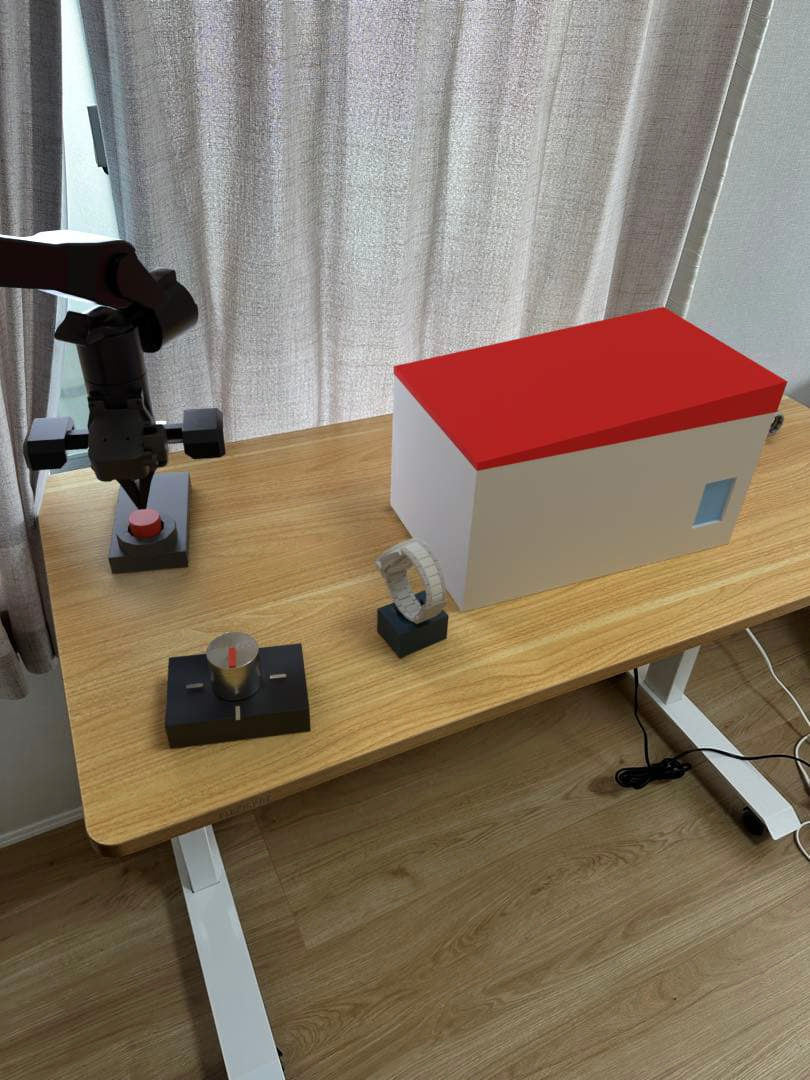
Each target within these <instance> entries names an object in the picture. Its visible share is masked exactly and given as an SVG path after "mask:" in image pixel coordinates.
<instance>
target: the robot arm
mask: <svg viewBox="0 0 810 1080" xmlns="http://www.w3.org/2000/svg"><path fill="white" fill-rule="evenodd" d="M136 249H137V248H136V247H135V245H133V244H132V243H131V242H129V241H127V240H126V239H121V238H114V237H109V236H104V235H99V234H98V235H97V234H94V233H88V232H82V231H76V230H71V229H59V230H50V231H39V232H38V233H35V234H34V235H32V236H22V237H21V236H20V237H19V236H14V235H5V234H0V288H8V289H9V288H10V289H24V290H25V289H27V290H38V291H41V292H44V293H47V294H51V295H54V296H56V297H61V298H64V299H68V300H69V299H70V300H74V301H78V302H84V303H88V304H93V305H97V306H93V307H91V308H89V309H87V310H85V311H83V312H79V311H74V310H70V309H69V310H67V311H66V313H65V316H64V318H63V320H62V321H61V322H60V323H59V324H58V325H57V327H56V328H55V331H54V333H53V338H54V339H55V340H56V341H59V342H64V343H69V344H73V345H75V347H76V352H77V355H78V360H79V365H80V368H81V373H82V377H83V381H84V382H83V383H84V386H85V390H86V399H87V403H88V404H87V406H88V419H87V427H86V428H81V429H76V428H77V427H76V424H75V421H74V419H73V418H72V417H71V416H60V417H59V416H56V417H54V416H53V417H39V418H34V419H33V420H32V422H31V423H30V424H29V426H28V429H27V432H26V435H25V437H24V440H23V443H22V456H23V458H24V462H25V465H26V468H27V469H28V470H30V471H32V472H33V471H51V470H62V468H63V467H64V466H65V465H66V463H68V460H69V456H68V451H76V450H77V451H79V450H87V457H88V459H89V462H90V469H91V470H92V471H93V472H94V475H95V477H96V479H97V480H98V481H100V482H104V483H111V482H113V481H116V482H117V484H119V486H120V485H121V486H122V488H123V489H124V491H125V492H126V493H127V495H128V496H129V498H130V499H131V500H132V502H133V503H134V505H135V506H136V507H137V509H138V510H142V509H143V510H144V509H146V508H147V503H148V497H149V492H150V486H151V481H152V478H153V476H154V474H156V471H157V470H158V469H159V468H165V467H166V466H168V465H169V460H170V448H171V447H170V446H171V445H176V444H182V445H183V453H184V454H185V455H186V456H188V457H189V458H191V459H192V460H206V459H221V458H223V457H224V456H225V455H227V447H226V446H227V443H226V426H225V417H224V412H222V411H221V409H219V408H218V407H205V408H191V409H188V408H187V409H182V411H183V412H182V422H177V423H167V421H165V420H157V419H156V413H155V408H154V404H153V396H152V392H151V386H150V380H149V375H148V369H147V365H146V364H147V363H146V359H145V354H155V353H157V352H160V351H161V350H163V349H164V348H165V347H167V346H169V345H170V344H172V343H173V342H175V341H176V340H178V339H180V338H181V337H183V336H185V335H186V334H188V333H190V332H191V331H192V330H193V329H195V327H196V326H197V324H198V321H199V307H198V304H197V303H196V302H195V299H194V297H193V295H192V294H191V292H190V291H189V290H188V289H187V288H186V287H185V286H184V285H183V283H181V282H179V281H178V278H177V271H176V270H175V269H172V268H167V267H161V266H157V267H156V268H154V269H151V270H150V271H149V270H148V269H147V268H146V267H145V265H144V264H143V263H142V262H141V261H140V259H139V258H138V254H137V252H136ZM138 479H139V482H138Z"/></svg>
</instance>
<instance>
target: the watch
mask: <svg viewBox="0 0 810 1080" xmlns="http://www.w3.org/2000/svg"><path fill="white" fill-rule="evenodd" d="M432 565H433V566H432ZM412 566H414V568H415V569H416V572H417V573H418V575H419V577H420V580H421V581H422V582H421V583H422V585H423V586H424V590H421V591H419V592H416V593H414V592H413V589H412V587H411V584H410V581H409V577H408V573H407V570H410V569H411V568H412ZM374 567H375V569H376V570H377V571H379V572H380V576H381V577H382V579H384V581H385V585H386V587H387V590H388V593H389V595H390V597H391V600H392V602H391V603H388V604H386V605H383V606H380V607H378V608H377V610H376V611H377V613H376V615H377V616H376V632H377V633H378V635H379V636H380V637H381V639H383V641H384V642H385V643H386V645H388V647H389V648H390V649H391V650H392V651H393V653H394V654H395V655H396V656H397V658H398V659H402V658H405V657H407V656H410V655H412V654H414V653H416V652H419V651H421V650H423V649H425V648H428V647H430V646H433V645H435V644H438V643H440V642H442V641H444V640H446V639H447V638H448V630H449V629H448V628H449V618H450V617H449V616H450V615H449V614H448V613H447V612H446V611H445V610H444V609H445V607H446V604H447V600H448V599H446V598H447V589H446V585H445V580H444V576H443V572H442V570H440V569H441V566H440V564H439V562H438V560H437V558H436V556H435V555H434V553H433V552H432V550H431V549H430V548H429V547H428V546H427V543H426V542H425V541H422V539H421V538H408V539H405V540H403V541H401V542H399V543H396V544H394V545H393V546H391V547H389V548H387V549H386V550H385V551H384V552H382V553H381V554H380V555H379V556H378V557H377V558H376V560H375V562H374Z"/></svg>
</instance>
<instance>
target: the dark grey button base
mask: <svg viewBox="0 0 810 1080" xmlns="http://www.w3.org/2000/svg"><path fill="white" fill-rule="evenodd" d="M191 480H192V479H191V475H190V471H189V470H188V471H187V470H186V471H175V472H174V471H173V472H159V473H158V472H157V473H154V476H153V478H152V481H151V486H150V492H149V497H148V503H147V508H146V509H154V510H156V511H157V512H158V513H159V515H160V520H161V526H162V530H161V532H160V533H159V534H157V535H154V536H152V537H147V538H138V537H134V536H133V535H132V533H131V529H130V525H129V520H128V519H129V516H130V515H131V514H132V513H133V512H135V511H137V510H138V509H137V507H136V506H135V505H134V503H133V502H132V500H131V499H130V498H129V496H128V495H127V493H126V492H125V491H124V489H123V488H122V486H121V485H120V484H119V488H118V495H117V501H116V508H115V514H114V519H113V527H112V532H111V539H110V545H109V549H108V550H109V551H108V557H107V558H108V563H109V567H110V570H111V574H112V575H113V574H123V573H134V572H135V573H136V572H145V571H157V570H168V569H169V570H170V569H178V568H188V567H189V564H190V563H189V562H190V533H191V532H190V531H191V509H192V508H191V507H192V481H191ZM138 482H139V479H138Z"/></svg>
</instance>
